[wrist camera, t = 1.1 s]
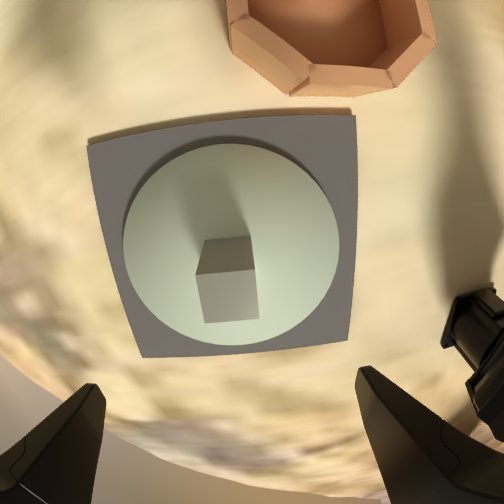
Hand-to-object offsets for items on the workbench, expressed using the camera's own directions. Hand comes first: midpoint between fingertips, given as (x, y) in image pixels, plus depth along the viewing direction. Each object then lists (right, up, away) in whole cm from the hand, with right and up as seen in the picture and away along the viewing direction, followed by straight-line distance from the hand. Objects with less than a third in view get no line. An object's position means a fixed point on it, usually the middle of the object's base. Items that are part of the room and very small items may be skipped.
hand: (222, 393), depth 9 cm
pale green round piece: (-1, +4, +12) cm, 13 cm away
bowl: (+5, +20, +6) cm, 21 cm away
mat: (-1, +5, +12) cm, 13 cm away
